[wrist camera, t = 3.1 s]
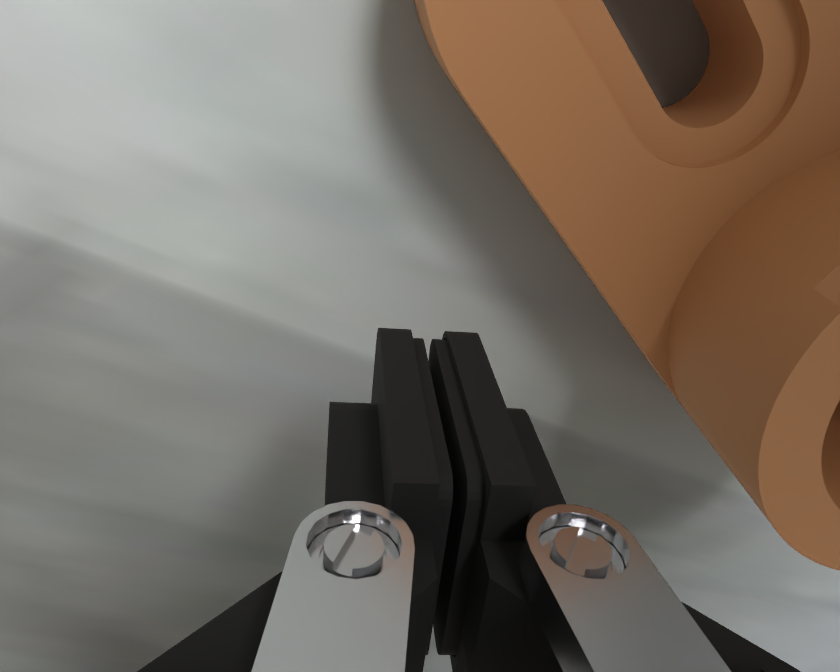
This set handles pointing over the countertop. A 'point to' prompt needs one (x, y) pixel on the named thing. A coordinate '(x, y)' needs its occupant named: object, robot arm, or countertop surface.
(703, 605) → the countertop surface
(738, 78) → the bracket
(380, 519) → the robot arm
